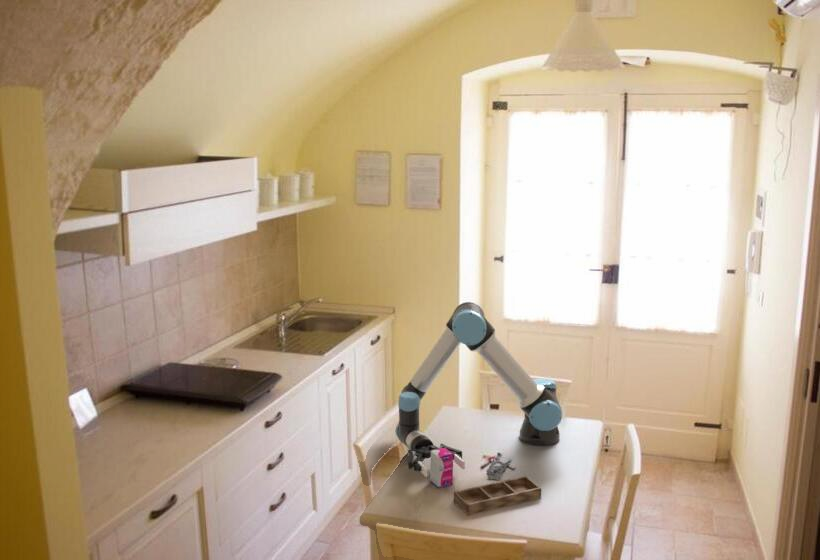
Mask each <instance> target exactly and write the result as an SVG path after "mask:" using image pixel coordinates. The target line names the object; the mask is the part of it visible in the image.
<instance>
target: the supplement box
mask: <svg viewBox="0 0 820 560" xmlns="http://www.w3.org/2000/svg"><path fill="white" fill-rule="evenodd" d="M429 467H430V469H429V470H430V473H429V474H430V475H429V476H430V481H429V482H430V483H432V485H434V486H435V487H436V488H437V489H441V488H443V487H448V486H452V485H454V474H453V473H454V471H453V470H454V460H453V453H451V452H450V451H449V450H447V449H446V448H441V449H436V450H432V451H431V457H430V466H429Z"/></svg>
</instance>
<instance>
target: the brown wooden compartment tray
mask: <svg viewBox="0 0 820 560" xmlns="http://www.w3.org/2000/svg"><path fill="white" fill-rule="evenodd" d="M538 499H539V500H540V499H542V487H541V486H539V485H538V484H537V483H536V482H535V481H533V480H532V479H531V478H529V477H528V476H527V475H524V476H519V477H514V478H509V479H505V480H499V481H496V482H492V483H486V484H483V485H482V484H481V485H479V486H474V487H469V488H465V489H461V490H456V491H453V502H454V504H455V505H456V506H457V507H458V508H459V509H460V510H461V511H462V512H464V514H465V515H466V516H472V515H475V514H480V513H484V512H489V511H492V510H496V509H501V508H505V507H510V506H513V505H514V506H515V505H519V504H521V503H526V502H530V501H535V500H538Z"/></svg>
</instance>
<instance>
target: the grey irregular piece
mask: <svg viewBox="0 0 820 560" xmlns="http://www.w3.org/2000/svg"><path fill="white" fill-rule="evenodd" d="M502 457H503V454H502V453H501V452H497V454H496V457H495V458H494V460H496V461H492V462H491V464H490V465H489V466H488V468H487V469H486V475H487V479H486V480H497V481H501V476H502V475H503V472H506V468H507V466H509V465H510V464H511V462H512V460H511V459H510V460H507V462H504V464H500V465H497V462H498V461H500V460H501V458H502Z"/></svg>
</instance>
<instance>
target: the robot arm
mask: <svg viewBox="0 0 820 560" xmlns="http://www.w3.org/2000/svg"><path fill="white" fill-rule="evenodd" d="M445 327H446V328H445V330H444V331H443V333H442V334H441V336H439V337H440V338H438V340H437V342H436V343H435V344H434V346H433V347H432V349H431V350H430V351H429V353H428V354H427V356H426V358H425V359H424V360H423V362H422V363H421V365H420V366H419V367H418V369H417V370H416V372H415V373H414V374H413V376H412V377H411V379H410V381H409V382H408V383H407V384H406V385H405V386H403V388H402V390H401V394H399V396H398V404H397V405H398V420H399V421H398V423H397V425H396V427H395V431H394V432H395V435H396V437H397V438H398V440H399V441H400V442H401V443H402V444H404V446H405V447H407V448H408V450H407V456H408V457H407V459H408V460H407V468H408V470H412V469H413V471H415V472H420V473H421V474H422V475H423V476H424V477H425V478H428V477H429V475H428V472H429V469H428V468H427V466H425V465H424V464H423V463H422V462H424V460H425V459H429V458H430V459H431V451H432V450H436V449H441V448H446V449H447V450H449V451H450V452H451V453H453V463H455V464H456V465H457V466H458V467H459V468H461V470H465V464H466V463H465V460H464V459H463V451H462V450H459V449H457V448H453V447H450V446H447V445H445V444H444V443H440V446H437V445H434V443H433V441H432V440H431V439H430V438H429V437H428V436H426V435H425V434H424V433H423V432H422V431H421V430H420V407H421V401H422V399H423V397H424V396H425V395H426V393H427V392H428V390H429V389H430V387H431V386H432V385H433V383H434V382H435V380H436V379H437V377H439V375H440V374H441V372H442V371H443V369H444V368H445V367H446V366H447V364H448V362H449V361H450V359H451V357H453V355H454V353H455V352H456V351H457V349H458V348H459V346H460V345H461V344H464V345H465V346H466V347H467V349H469V351H470V352H476V353H477V354H478V355H479V356H480V357H481V359H483V360H484V361H485V363H486V364H487V365H488V366H489V368H490V369H491V370H492V371H493V372H494V373H495V374H496V376H498V377H499V379H500V380H501V381H502V382H503V383H504V385H505V386H506V387H507V388H508V389H509V390H510V391H511V393H512V394H513V395H514V396H515V397H516V398H517V400H518V406H519V408H520V409H521V410H522V411H523V413H524V418H523V421H522V424H521V427H520V430H519V439H520V440H521V441H523V442H524V443H526V444H529V445H531V446H541V447H542V446H550V445H555V444H557V443H558V442H559V441H560V435H561V434H560V430H559V427H558V426H559V425H560V423H561V422H562V418H563V410H562V407H561V405H560V402H559V400H558V398H557V390H558V389H557V388H558V387H557V383H556V382H555V381H554V380H552V379H547V378H532V377H531V376H530V375H529V373H528V372H527V371H526V370H525V369H524V368H523V366H522V365H521V364H520V363H519V362H518V360H517V359H516V358H515V357H514V356H513V355H512V354H511V353H510V351H509V350H508V349H507V348H506V347H505V346H504V345H503V343H502V342H501V341H500V339H498V337H497V336H496V329H495V327H493V325H492V324H491V323H490V322H489V321H488V320H487V318H486V317H485V313H484V310H483V309H482V307H481V306H479V305H478V304H477V303H475V302H472V301H471V302H470V301H467V302H462V303H460V304H459V305H458V306H456V307H455V309H454V311H453V313H452V315H451V316H450V317H449V319H448V321H447V322H446V324H445ZM415 456H416V457H415ZM414 457H415V459H414Z"/></svg>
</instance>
